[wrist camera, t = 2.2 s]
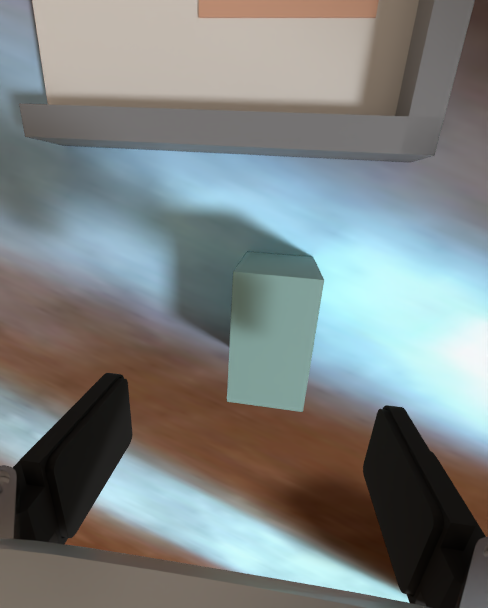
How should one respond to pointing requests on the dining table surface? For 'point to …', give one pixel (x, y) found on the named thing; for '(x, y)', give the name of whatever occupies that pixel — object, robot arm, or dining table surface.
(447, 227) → the dining table surface
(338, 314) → the dining table surface
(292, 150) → the tray
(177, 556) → the dining table surface
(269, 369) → the block
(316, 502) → the dining table surface
